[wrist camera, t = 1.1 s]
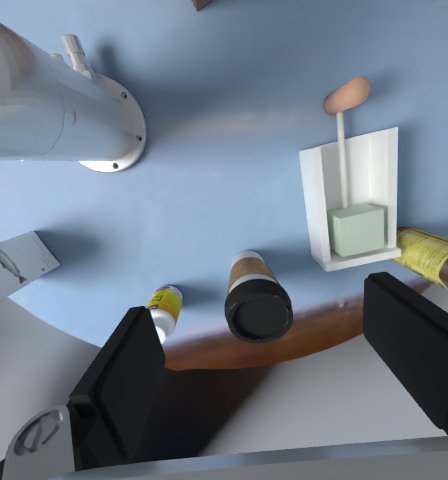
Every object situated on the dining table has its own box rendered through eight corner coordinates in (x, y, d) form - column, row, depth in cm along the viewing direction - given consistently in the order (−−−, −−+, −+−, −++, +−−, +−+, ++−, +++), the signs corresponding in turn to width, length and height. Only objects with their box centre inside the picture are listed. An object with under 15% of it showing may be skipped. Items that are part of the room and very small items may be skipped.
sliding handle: (311, 98, 31) (331, 84, 25) (354, 86, 30) (384, 69, 25) (325, 243, 38) (343, 257, 32) (360, 235, 38) (385, 248, 32)
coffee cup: (278, 272, 40) (308, 331, 26) (238, 292, 42) (246, 359, 28) (257, 234, 38) (276, 277, 24) (215, 257, 39) (210, 311, 25)
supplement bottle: (168, 278, 41) (150, 314, 31) (189, 297, 42) (179, 337, 32) (148, 296, 42) (125, 335, 32) (169, 313, 43) (154, 356, 34)
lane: (298, 150, 33) (314, 148, 28) (372, 132, 33) (404, 125, 27) (311, 256, 39) (326, 272, 33) (374, 242, 38) (400, 256, 33)
